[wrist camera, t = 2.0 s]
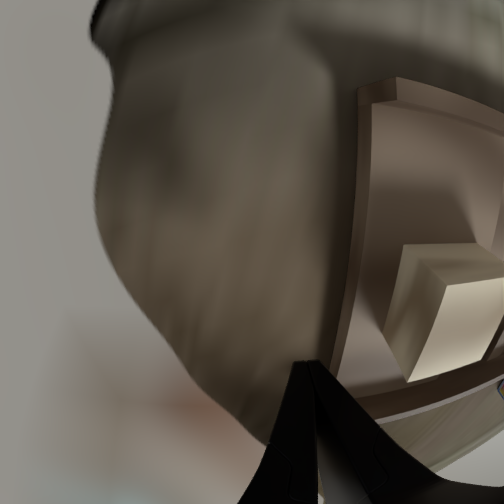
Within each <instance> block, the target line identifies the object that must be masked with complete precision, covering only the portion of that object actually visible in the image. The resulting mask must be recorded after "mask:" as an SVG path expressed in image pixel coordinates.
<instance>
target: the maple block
mask: <svg viewBox="0 0 504 504" xmlns="http://www.w3.org/2000/svg"><path fill="white" fill-rule="evenodd" d="M503 315H504V262H503V261H501V260H500V259H499V258H497V257H496V256H495V255H493V254H492V253H490V252H489V251H488V250H486V249H485V248H483V247H482V246H481V245H479V244H478V243H447V244H406V245H404V246H403V251H402V256H401V261H400V266H399V271H398V275H397V280H396V284H395V288H394V292H393V296H392V300H391V304H390V308H389V311H388V315H387V318H386V322H385V325H384V328H383V332H382V335H383V337H384V338H385V340H386V342H387V344H388V346H389V348H390V350H391V352H392V354H393V356H394V358H395V359H396V361H397V363H398V365H399V367H400V369H401V371H402V373H403V375H404V377H405V379H406V382H407V383H408V382H412V381H416V380H420V379H423V378H427V377H431V376H434V375H437V374H441V373H444V372H447V371H450V370H453V369H456V368H459V367H462V366H465V365H468V364H471V363H473V362H476V361H479V360H481V358H482V357H483V355H484V353H485V351H486V349H487V348H488V346H489V344H490V342H491V340H492V338H493V336H494V334H495V332H496V330H497V328H498V326H499V324H500V322H501V319H502V317H503Z"/></svg>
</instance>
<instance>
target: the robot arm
mask: <svg viewBox="0 0 504 504" xmlns="http://www.w3.org/2000/svg"><path fill="white" fill-rule="evenodd" d="M318 469H319V473H320V478H321V482H322V487H323V491H324V496H325V501H326V504H504V486H502V487H491V486H482V485H473V484H466V483H460V482H455V481H450V480H447V479H444V478H442V477H440V476H438V475H436V474H435V473H433V472H432V471H431V470H429V469H428V468H427V467H425V466H424V465H423V464H422V463H420V462H419V461H418V460H416V459H415V458H414V457H413V456H411V455H410V454H409V453H408V452H406V451H405V450H404V449H403V448H402V447H401V446H399V445H398V444H397V443H396V442H395V441H394V440H393V439H392V438H391V437H390V436H389V435H388V434H387V433H386V432H385V431H384V430H383V428H380V425H379V424H378V423H377V422H376V421H375V420H374V419H373V418H372V417H371V416H370V415H369V414H368V413H367V411H366V410H365V409H364V408H363V407H362V406H361V405H360V404H359V403H358V402H357V401H356V400H355V398H354V397H353V396H352V395H351V394H350V393H349V392H348V391H347V390H346V389H345V388H344V386H343V385H342V384H341V383H340V382H339V381H338V380H337V379H336V378H335V377H334V375H333V374H332V373H331V372H330V371H329V370H328V369H327V368H326V367H325V365H324V364H323V363H322V362H321V361H320V360H318V359H315V360H308V361H307V362H306V361H304V360H303V361H294V362H293V365H292V369H291V372H290V376H289V379H288V383H287V386H286V389H285V393H284V396H283V399H282V402H281V405H280V409H279V412H278V415H277V418H276V421H275V424H274V427H273V430H272V433H271V436H270V439H269V442H268V444H267V447H266V450H265V453H264V455H263V458H262V460H261V463H260V465H259V467H258V469H257V471H256V473H255V475H254V477H253V479H252V480H251V482H250V484H249V485H248V487H247V489H246V490H245V492H244V494H243V495H242V497H241V498H240V500H239V502H238V503H237V504H318Z"/></svg>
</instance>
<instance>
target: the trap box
mask: <svg viewBox="0 0 504 504" xmlns="http://www.w3.org/2000/svg"><path fill="white" fill-rule="evenodd" d="M357 108H358V142H357V173H356V191H355V205H354V217H353V228H352V237H351V246H350V255H349V263H348V270H347V277H346V284H345V291H344V297H343V303H342V309H341V314H340V320H339V325H338V331H337V336H336V341H335V345H334V350H333V355H332V359H331V364H330V368H329V371H330V372H331V373H332V374H333V375H334V377H335V378H336V379H337V380H338V381H339V382H340V383H341V384H342V385H343V386H344V388H345V389H346V390H347V391H348V392H349V393H350V394H351V395H352V396H353V397H354V398H355V400H356V401H357V402H358V403H359V404H360V405H361V406H362V407H363V408H364V409H365V410H366V411H367V413H368V414H369V415H370V416H371V417H372V418H373V419H374V420H375V421H376V422H377V423H378V424H382V423H386V422H390V421H394V420H398V419H401V418H405V417H408V416H412V415H415V414H418V413H421V412H424V411H427V410H430V409H433V408H436V407H439V406H442V405H445V404H447V403H450V402H452V401H455V400H457V399H460V398H462V397H465V396H467V395H469V394H472V393H474V392H476V391H478V390H481V389H483V388H485V387H487V386H489V385H491V384H493V383H495V382H497V381H499V380H501V379H503V378H504V315H503V317H502V319H501V322H500V324H499V326H498V328H497V330H496V332H495V334H494V336H493V338H492V340H491V342H490V344H489V346H488V348H487V349H486V351H485V353H484V355H483V357H482V358H481V360H479V361H476V362H473V363H471V364H468V365H465V366H462V367H459V368H456V369H453V370H450V371H447V372H444V373H441V374H437V375H434V376H431V377H427V378H423V379H420V380H416V381H412V382H408V383H407V382H406V379H405V377H404V375H403V373H402V371H401V369H400V367H399V365H398V363H397V361H396V359H395V358H394V356H393V354H392V352H391V350H390V348H389V346H388V344H387V342H386V340H385V338H384V337H383V335H382V332H383V328H384V325H385V322H386V318H387V315H388V311H389V308H390V304H391V300H392V296H393V292H394V288H395V284H396V280H397V275H398V271H399V266H400V261H401V256H402V251H403V246H404V245H406V244H447V243H478V244H479V245H481V246H482V247H483V248H485V249H486V250H488V251H489V252H490V253H492V254H493V255H495V256H496V257H497V258H499V259H500V260H501V261H503V262H504V114H503V113H501V112H499V111H497V110H495V109H493V108H490V107H488V106H486V105H484V104H481V103H479V102H476V101H474V100H471V99H469V98H466V97H463V96H461V95H458V94H455V93H452V92H449V91H446V90H443V89H440V88H437V87H434V86H430V85H427V84H424V83H420V82H416V81H412V80H408V79H404V78H400V77H392V78H389V79H385V80H382V81H379V82H375V83H372V84H369V85H366V86H363V87H360V88H357Z"/></svg>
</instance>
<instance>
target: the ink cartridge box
mask: <svg viewBox="0 0 504 504" xmlns="http://www.w3.org/2000/svg"><path fill="white" fill-rule="evenodd" d="M498 392H499V394H500V395H501V397H502V398H503V400H504V380H503V382H502V383H501V385H500V386H499V388H498Z"/></svg>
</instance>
